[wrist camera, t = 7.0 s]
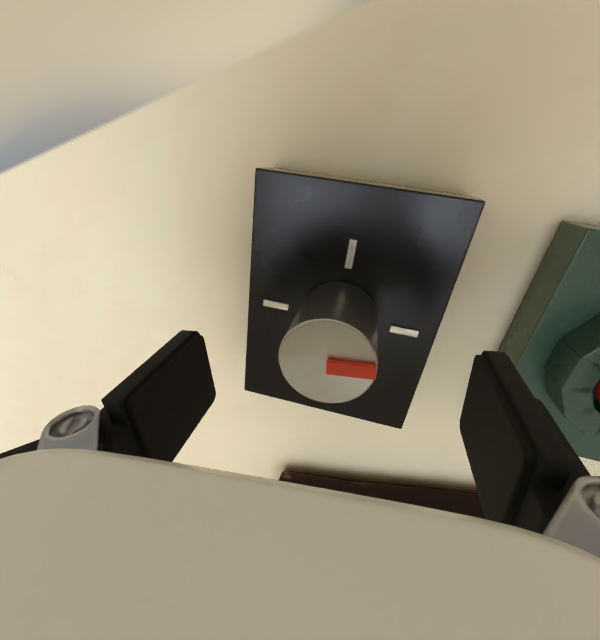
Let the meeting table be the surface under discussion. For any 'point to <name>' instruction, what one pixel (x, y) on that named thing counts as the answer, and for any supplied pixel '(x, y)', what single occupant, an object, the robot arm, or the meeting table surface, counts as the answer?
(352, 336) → the hob knob
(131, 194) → the meeting table surface
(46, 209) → the meeting table surface
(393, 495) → the diary
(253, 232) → the knob base
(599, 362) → the button base
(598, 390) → the button
